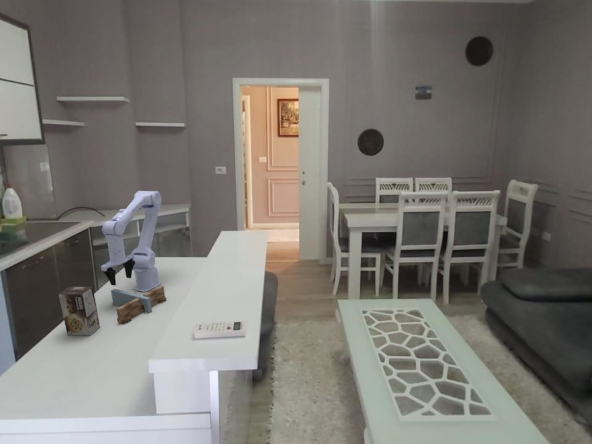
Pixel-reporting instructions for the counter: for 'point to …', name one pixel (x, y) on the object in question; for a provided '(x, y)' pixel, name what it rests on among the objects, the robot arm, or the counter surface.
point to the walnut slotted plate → (139, 305)
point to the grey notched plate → (130, 299)
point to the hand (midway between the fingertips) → (121, 281)
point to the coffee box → (79, 310)
